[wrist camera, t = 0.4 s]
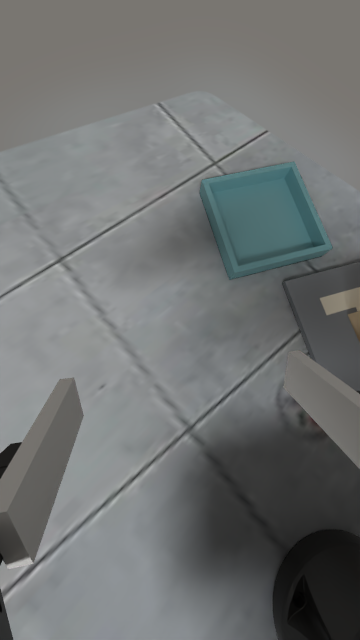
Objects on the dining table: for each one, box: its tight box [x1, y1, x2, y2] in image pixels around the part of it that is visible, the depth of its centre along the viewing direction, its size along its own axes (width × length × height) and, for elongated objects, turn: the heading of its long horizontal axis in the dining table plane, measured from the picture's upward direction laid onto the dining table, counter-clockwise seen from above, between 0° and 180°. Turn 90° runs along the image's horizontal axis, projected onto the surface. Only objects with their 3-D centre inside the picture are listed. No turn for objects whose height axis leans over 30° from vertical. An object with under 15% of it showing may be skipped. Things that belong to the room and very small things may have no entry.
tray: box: [200, 162, 332, 280], centre depth 33 cm, size 15×15×2 cm
